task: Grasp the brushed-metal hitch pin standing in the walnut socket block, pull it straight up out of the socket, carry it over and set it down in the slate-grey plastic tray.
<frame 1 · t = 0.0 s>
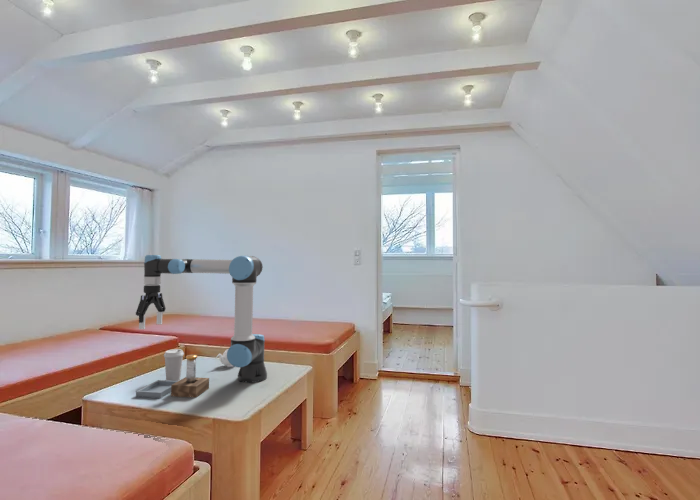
hand: (150, 326, 186), 28 cm above the table, fingers open, 13 cm apart
hitch pin: (191, 374, 172), in the socket block
teapot: (230, 366, 215), on the table
socket block: (190, 392, 171), on the table
coffee cup: (173, 380, 188), on the table
tray: (159, 391, 172), on the table
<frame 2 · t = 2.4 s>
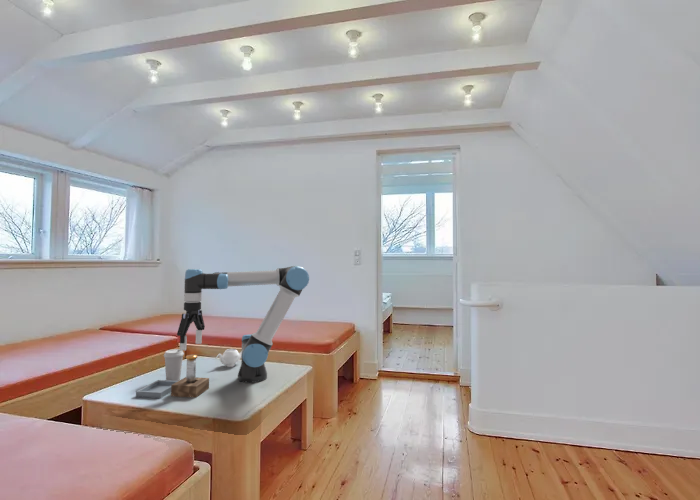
hand: (191, 346, 172), 21 cm above the table, fingers open, 13 cm apart
nothing on the table moved.
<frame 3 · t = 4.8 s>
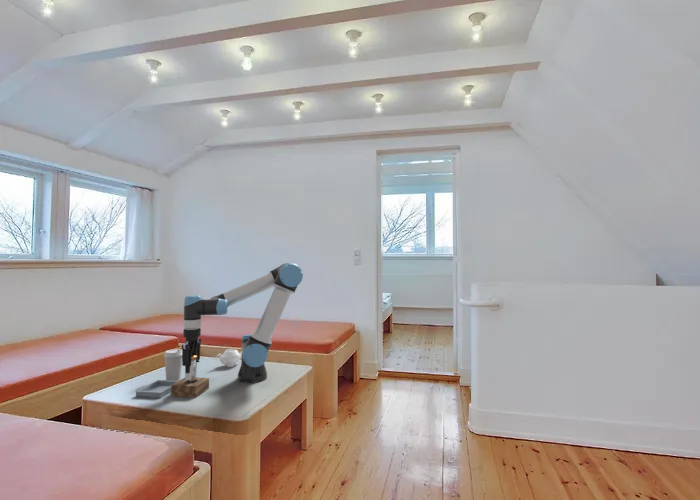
hand: (190, 377, 172), 7 cm above the table, fingers closed on hitch pin, 4 cm apart
hitch pin: (191, 374, 172), in the socket block, touching gripper
everything else where it was.
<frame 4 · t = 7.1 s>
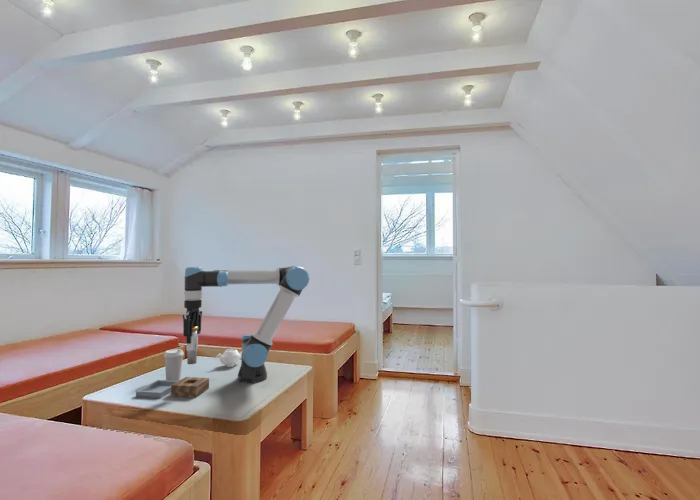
hand: (192, 348, 172), 20 cm above the table, fingers closed on hitch pin, 4 cm apart
hitch pin: (192, 345, 172), point 22 cm above the table, touching gripper
everything else where it was.
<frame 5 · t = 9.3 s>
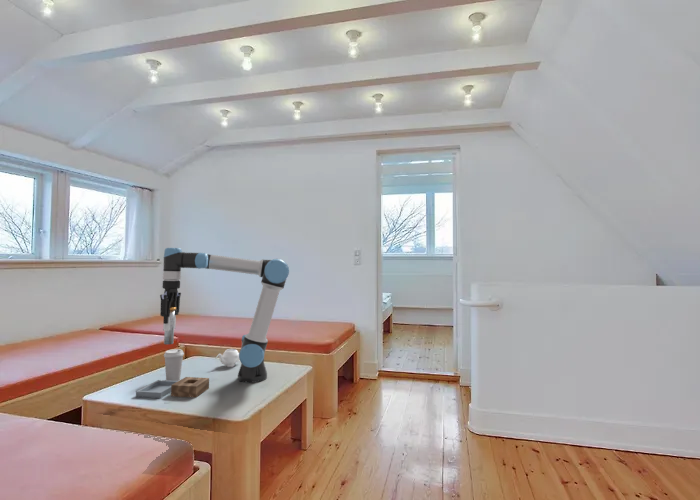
hand: (169, 329, 172), 29 cm above the table, fingers closed on hitch pin, 4 cm apart
hitch pin: (169, 325, 173), point 31 cm above the table, touching gripper
everything else where it was.
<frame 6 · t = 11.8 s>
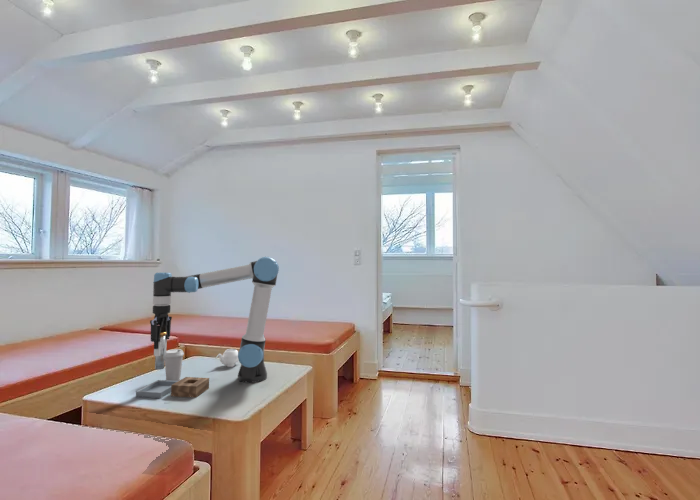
hand: (160, 354, 172), 17 cm above the table, fingers closed on hitch pin, 4 cm apart
hitch pin: (160, 350, 172), point 19 cm above the table, touching gripper
everything else where it was.
when the fingers open (8 cm above the table, at t = 14.2 s): hitch pin drops 1 cm, resting on tray.
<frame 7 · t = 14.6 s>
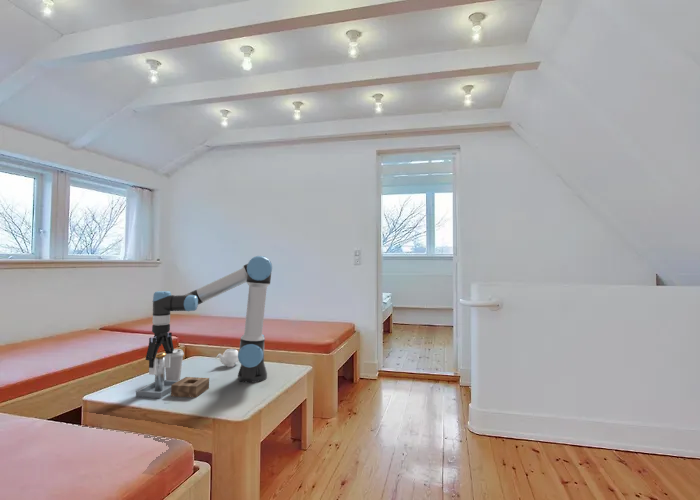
hand: (159, 370, 172), 10 cm above the table, fingers open, 10 cm apart
hitch pin: (159, 371, 172), in the tray, point 9 cm above the table
everything else where it was.
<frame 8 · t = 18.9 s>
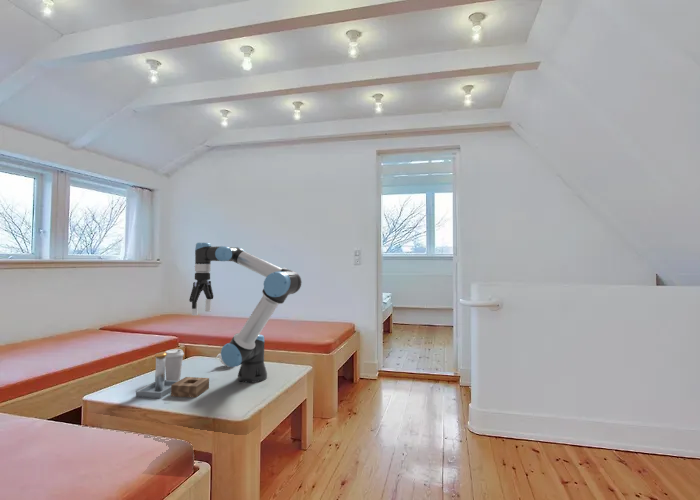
hand: (201, 313, 189), 35 cm above the table, fingers open, 13 cm apart
nothing on the table moved.
at the end: hitch pin inside the target area on the tray (0.1 cm from its centre), point 9.1 cm above the tray's base; hitch pin touching tray; the gripper is holding nothing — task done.
